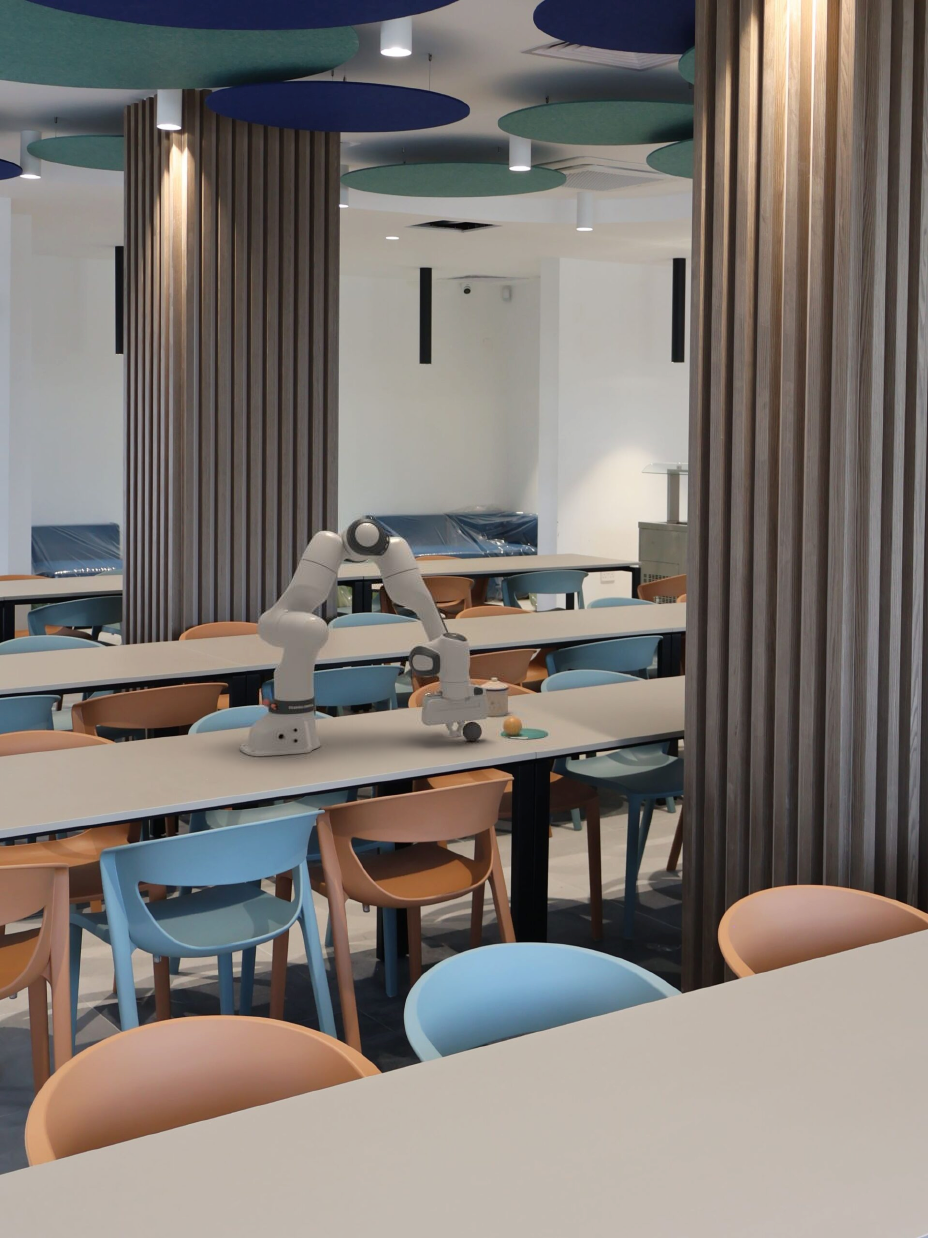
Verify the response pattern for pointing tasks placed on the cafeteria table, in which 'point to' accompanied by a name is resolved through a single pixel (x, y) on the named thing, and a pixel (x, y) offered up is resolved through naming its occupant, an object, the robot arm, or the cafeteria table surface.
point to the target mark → (528, 733)
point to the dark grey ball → (472, 731)
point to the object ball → (512, 726)
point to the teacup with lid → (496, 697)
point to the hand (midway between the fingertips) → (455, 737)
